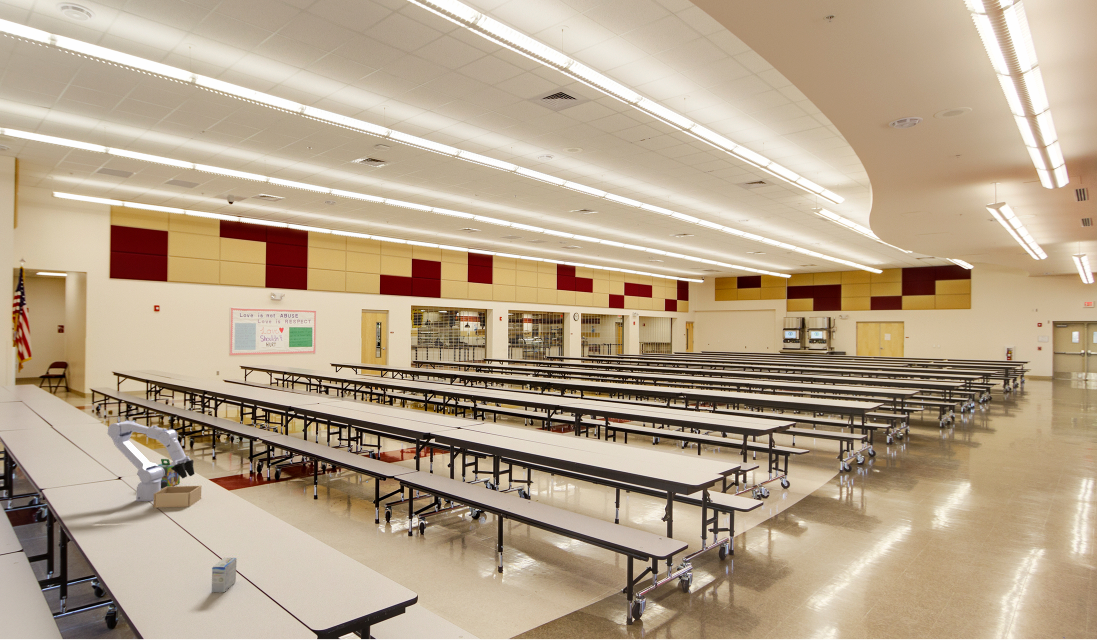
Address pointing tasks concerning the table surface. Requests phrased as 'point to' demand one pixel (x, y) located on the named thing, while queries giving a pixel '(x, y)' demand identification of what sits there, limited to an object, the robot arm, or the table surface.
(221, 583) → the medicine box
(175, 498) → the flap
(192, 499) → the carton
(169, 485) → the chalk box
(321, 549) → the table surface
